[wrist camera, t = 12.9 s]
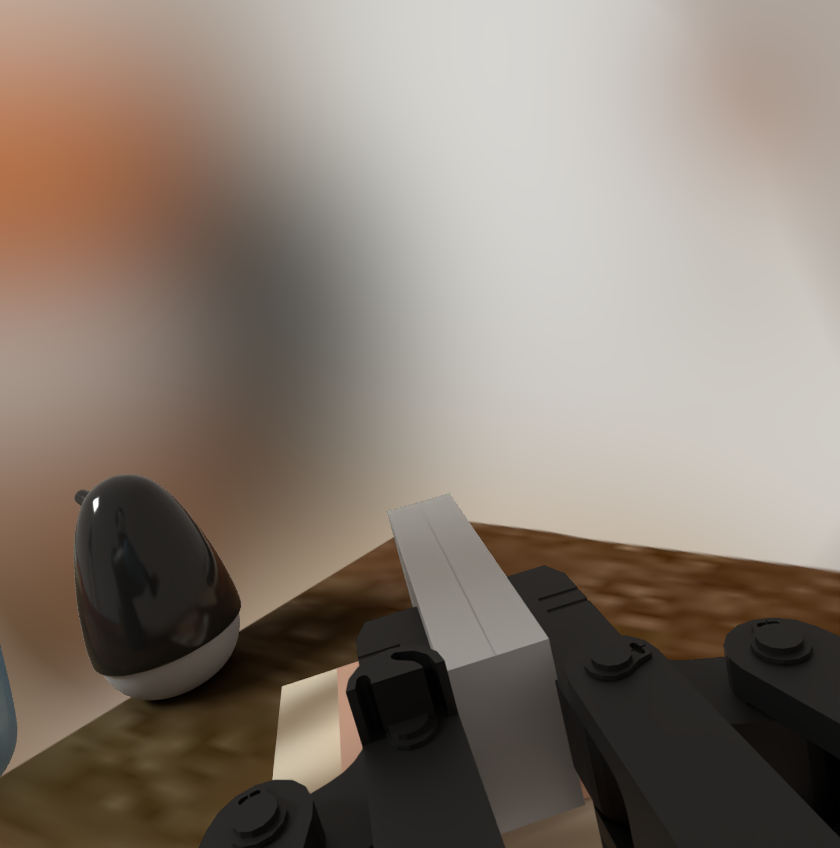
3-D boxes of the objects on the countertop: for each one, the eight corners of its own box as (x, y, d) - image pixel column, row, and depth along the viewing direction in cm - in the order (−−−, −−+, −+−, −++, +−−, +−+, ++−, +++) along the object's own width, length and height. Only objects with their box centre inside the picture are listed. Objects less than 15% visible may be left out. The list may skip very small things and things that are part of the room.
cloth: (809, 917, 20) (806, 897, 20) (246, 1141, 18) (237, 1121, 18) (557, 608, 42) (555, 597, 42) (286, 697, 40) (282, 686, 40)
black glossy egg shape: (199, 628, 53) (136, 455, 50) (285, 641, 47) (218, 445, 44) (82, 709, 45) (-2, 509, 42) (166, 738, 39) (75, 507, 36)
